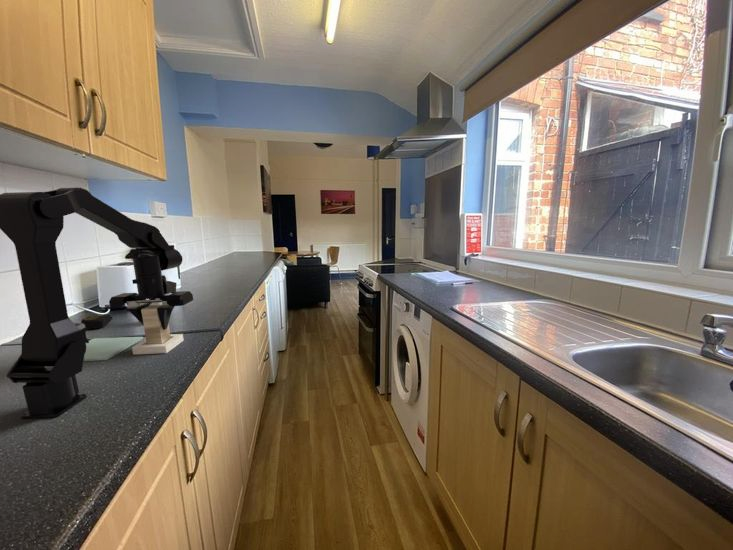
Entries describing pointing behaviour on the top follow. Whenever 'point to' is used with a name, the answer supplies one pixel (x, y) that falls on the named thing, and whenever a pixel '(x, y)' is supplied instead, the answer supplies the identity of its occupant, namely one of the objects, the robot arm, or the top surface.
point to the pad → (107, 347)
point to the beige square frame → (158, 345)
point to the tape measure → (96, 321)
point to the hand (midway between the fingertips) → (157, 329)
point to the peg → (154, 326)
